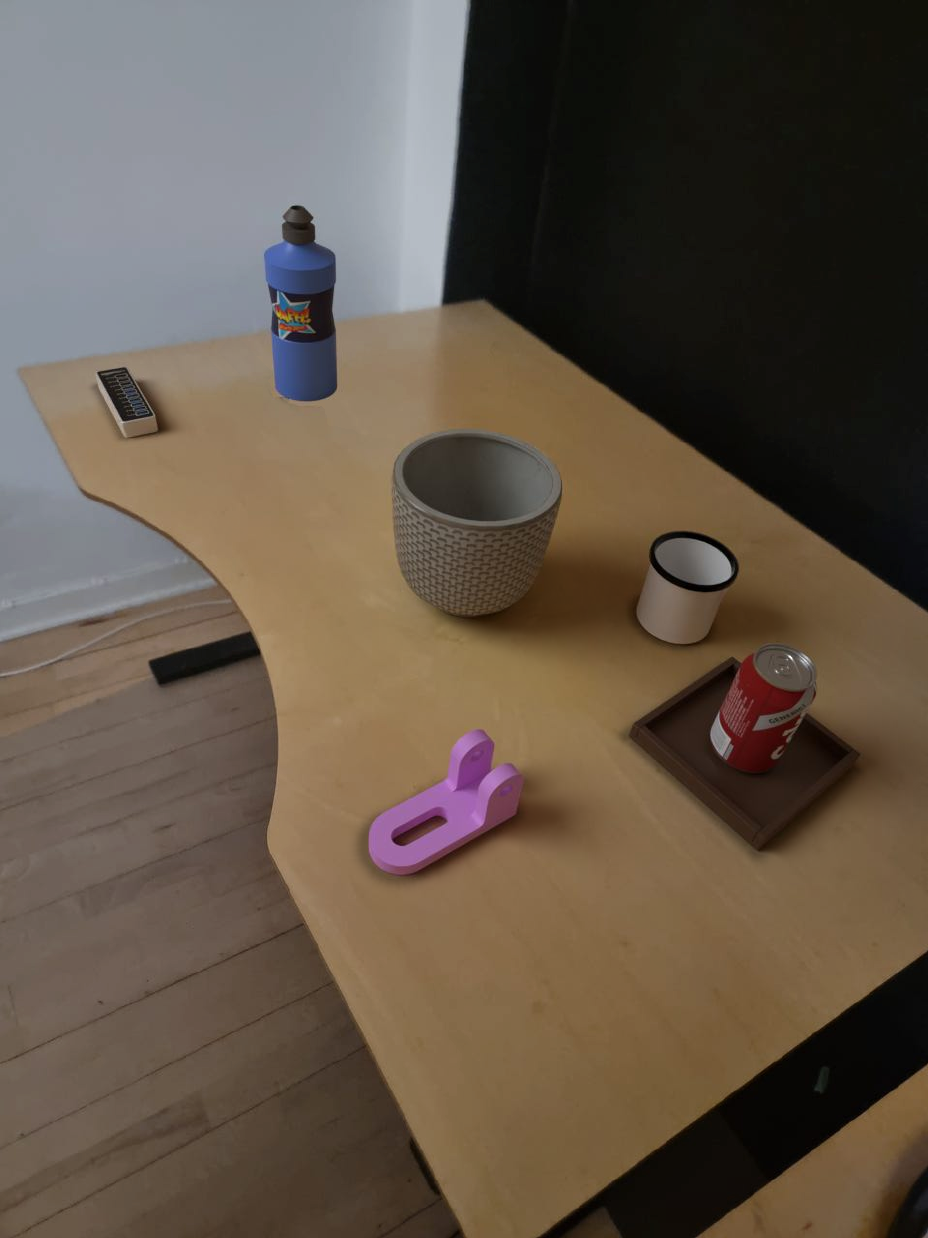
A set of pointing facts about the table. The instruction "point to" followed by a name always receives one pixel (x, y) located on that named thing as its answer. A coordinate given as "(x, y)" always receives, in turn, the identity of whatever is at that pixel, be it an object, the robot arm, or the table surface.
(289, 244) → the water bottle
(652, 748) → the tray
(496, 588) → the planter
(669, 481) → the table surface
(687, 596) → the mug
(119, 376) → the multiport hub
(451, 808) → the bracket
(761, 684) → the soda can
